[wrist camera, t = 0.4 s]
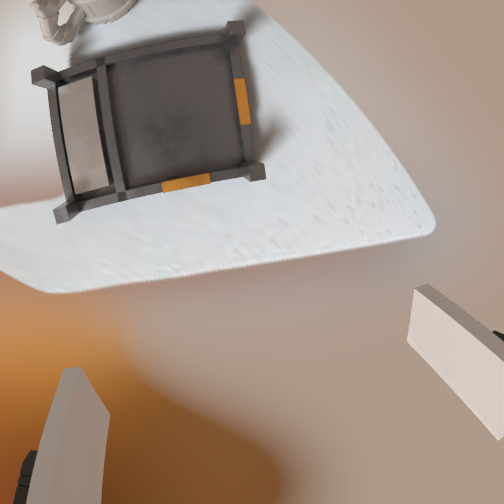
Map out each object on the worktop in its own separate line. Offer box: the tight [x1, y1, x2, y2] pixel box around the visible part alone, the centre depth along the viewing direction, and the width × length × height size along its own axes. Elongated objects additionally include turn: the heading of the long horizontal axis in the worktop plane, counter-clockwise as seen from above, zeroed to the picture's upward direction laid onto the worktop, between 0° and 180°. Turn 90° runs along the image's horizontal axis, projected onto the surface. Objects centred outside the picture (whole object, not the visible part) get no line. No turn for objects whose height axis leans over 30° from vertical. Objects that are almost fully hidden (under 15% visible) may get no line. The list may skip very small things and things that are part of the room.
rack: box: [31, 20, 266, 224], centre depth 28 cm, size 16×21×6 cm
